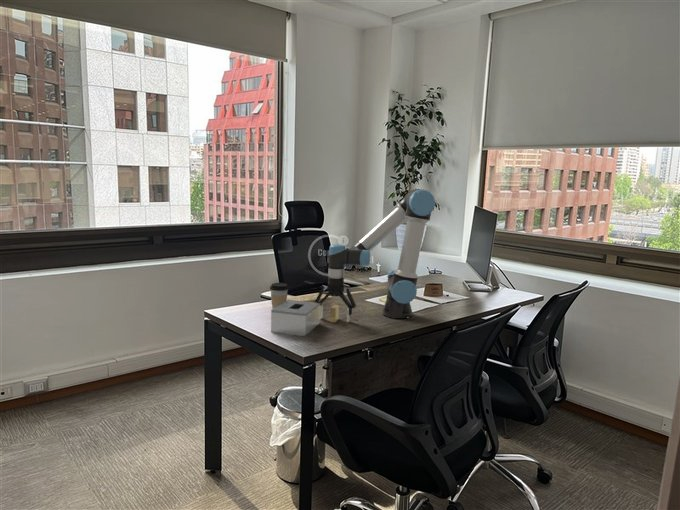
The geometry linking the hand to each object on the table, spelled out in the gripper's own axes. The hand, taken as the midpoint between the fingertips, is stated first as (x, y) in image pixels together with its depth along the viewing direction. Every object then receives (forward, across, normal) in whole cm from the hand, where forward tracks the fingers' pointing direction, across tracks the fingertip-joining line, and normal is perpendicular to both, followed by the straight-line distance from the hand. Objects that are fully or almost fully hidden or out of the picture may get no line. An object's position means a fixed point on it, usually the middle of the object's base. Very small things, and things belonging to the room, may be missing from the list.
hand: (334, 319), depth 239 cm
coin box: (0, +13, +18) cm, 22 cm away
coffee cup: (0, +29, 0) cm, 29 cm away
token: (0, 0, 0) cm, 0 cm away
